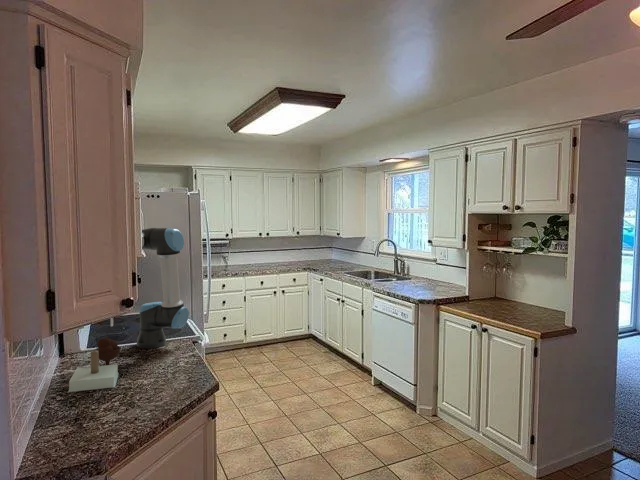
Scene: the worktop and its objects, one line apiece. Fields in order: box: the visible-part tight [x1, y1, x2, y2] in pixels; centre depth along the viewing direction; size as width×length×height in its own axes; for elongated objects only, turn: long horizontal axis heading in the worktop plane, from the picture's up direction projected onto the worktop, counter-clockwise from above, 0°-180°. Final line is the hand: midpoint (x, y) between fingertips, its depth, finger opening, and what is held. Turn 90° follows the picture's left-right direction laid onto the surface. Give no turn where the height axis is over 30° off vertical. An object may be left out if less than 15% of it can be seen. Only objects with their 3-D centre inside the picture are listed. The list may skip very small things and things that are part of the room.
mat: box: [67, 372, 120, 393], centre depth 179 cm, size 17×17×1 cm
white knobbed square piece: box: [68, 349, 119, 392], centre depth 179 cm, size 16×16×13 cm
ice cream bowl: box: [94, 336, 122, 366], centre depth 196 cm, size 11×11×15 cm
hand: (93, 326), depth 178 cm, fingers open, 13 cm apart
